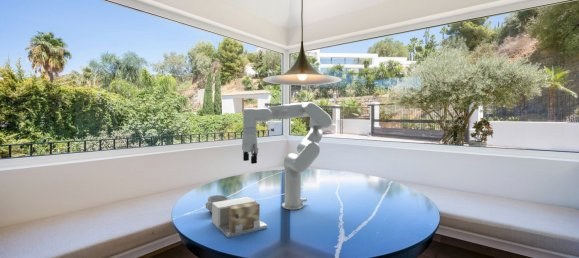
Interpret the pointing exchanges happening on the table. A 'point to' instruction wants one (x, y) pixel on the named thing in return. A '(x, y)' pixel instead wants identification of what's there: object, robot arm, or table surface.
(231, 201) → the cabinet
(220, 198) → the teacup
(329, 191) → the table surface
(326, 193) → the table surface
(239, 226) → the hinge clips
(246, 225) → the door
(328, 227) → the table surface
